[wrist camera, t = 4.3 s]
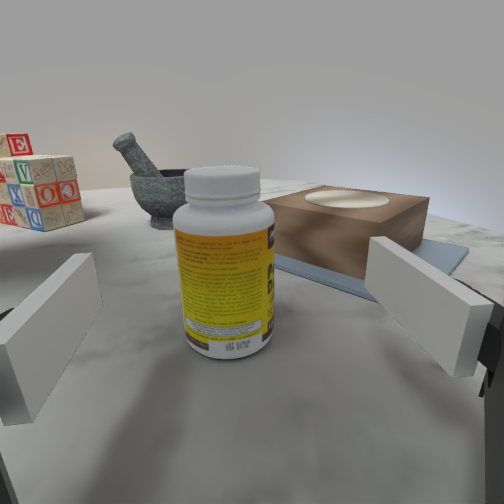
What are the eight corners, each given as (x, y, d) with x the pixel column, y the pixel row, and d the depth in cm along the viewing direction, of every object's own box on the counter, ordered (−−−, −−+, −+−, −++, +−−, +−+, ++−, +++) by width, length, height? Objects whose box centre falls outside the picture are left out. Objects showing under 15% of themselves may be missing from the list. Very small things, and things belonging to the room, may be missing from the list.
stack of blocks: (87, 221, 47) (68, 131, 43) (45, 233, 42) (18, 132, 38) (6, 208, 56) (-16, 133, 52) (-37, 216, 51) (-66, 134, 47)
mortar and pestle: (193, 211, 51) (186, 131, 47) (220, 225, 44) (215, 130, 39) (119, 223, 45) (103, 132, 41) (136, 240, 38) (119, 132, 34)
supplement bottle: (285, 356, 18) (289, 173, 15) (185, 371, 17) (163, 179, 14) (262, 307, 23) (261, 162, 20) (185, 316, 22) (169, 165, 19)
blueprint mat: (221, 249, 35) (220, 245, 35) (305, 219, 46) (305, 216, 46) (416, 315, 22) (417, 310, 22) (468, 251, 33) (469, 247, 33)
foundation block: (260, 249, 34) (260, 199, 32) (322, 224, 42) (324, 183, 40) (372, 282, 26) (380, 220, 24) (421, 244, 34) (430, 195, 32)
